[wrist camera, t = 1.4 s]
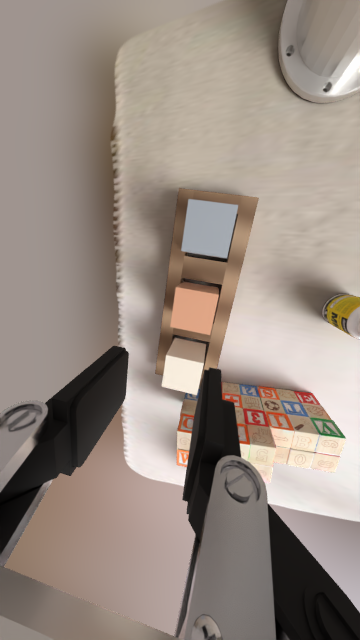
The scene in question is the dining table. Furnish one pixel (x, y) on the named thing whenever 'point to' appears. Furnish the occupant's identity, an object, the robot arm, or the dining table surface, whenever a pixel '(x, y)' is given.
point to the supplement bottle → (344, 313)
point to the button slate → (208, 228)
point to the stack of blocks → (273, 429)
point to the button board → (205, 274)
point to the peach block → (194, 307)
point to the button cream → (184, 366)
